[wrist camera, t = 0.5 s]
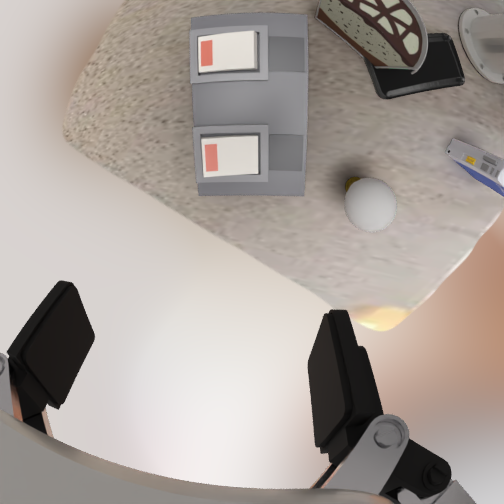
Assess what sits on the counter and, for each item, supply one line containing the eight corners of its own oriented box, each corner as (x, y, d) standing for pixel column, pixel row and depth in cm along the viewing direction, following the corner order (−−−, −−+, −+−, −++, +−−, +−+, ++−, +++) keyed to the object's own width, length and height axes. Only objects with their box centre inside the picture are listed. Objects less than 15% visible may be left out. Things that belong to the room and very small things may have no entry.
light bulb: (322, 180, 34) (341, 211, 25) (358, 153, 32) (389, 176, 23) (347, 213, 36) (370, 252, 27) (381, 188, 34) (414, 220, 25)
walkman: (481, 163, 30) (532, 193, 19) (474, 178, 31) (524, 211, 21) (451, 136, 29) (507, 159, 18) (444, 152, 30) (498, 180, 20)
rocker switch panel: (302, 23, 23) (308, 12, 19) (300, 185, 34) (305, 199, 30) (199, 25, 24) (188, 15, 20) (205, 185, 35) (196, 198, 31)
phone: (466, 84, 23) (381, 101, 27) (462, 84, 24) (378, 100, 28) (449, 32, 20) (358, 42, 23) (445, 33, 21) (356, 43, 24)
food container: (408, 49, 23) (451, 41, 15) (382, 76, 26) (422, 73, 17) (334, -16, 20) (357, -48, 11) (304, 10, 22) (318, -20, 14)
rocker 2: (255, 134, 27) (258, 136, 26) (256, 170, 29) (258, 173, 28) (201, 137, 26) (201, 139, 25) (203, 174, 29) (203, 177, 27)
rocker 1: (256, 33, 20) (253, 30, 19) (257, 69, 23) (254, 67, 21) (203, 38, 22) (197, 36, 21) (203, 72, 24) (198, 72, 23)
